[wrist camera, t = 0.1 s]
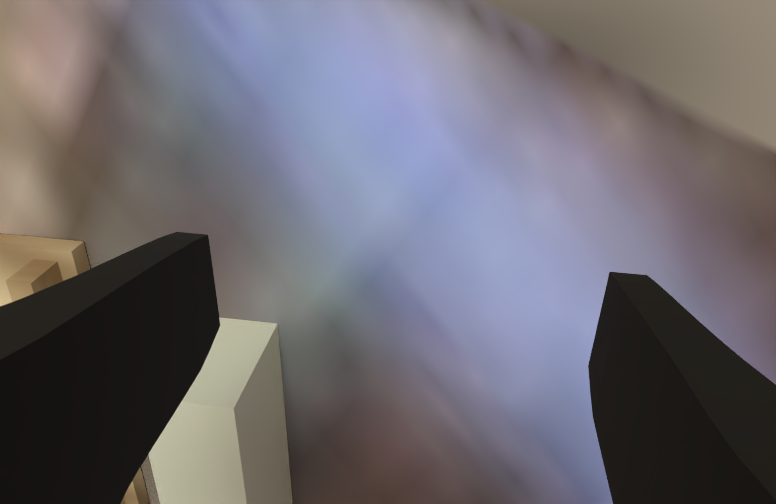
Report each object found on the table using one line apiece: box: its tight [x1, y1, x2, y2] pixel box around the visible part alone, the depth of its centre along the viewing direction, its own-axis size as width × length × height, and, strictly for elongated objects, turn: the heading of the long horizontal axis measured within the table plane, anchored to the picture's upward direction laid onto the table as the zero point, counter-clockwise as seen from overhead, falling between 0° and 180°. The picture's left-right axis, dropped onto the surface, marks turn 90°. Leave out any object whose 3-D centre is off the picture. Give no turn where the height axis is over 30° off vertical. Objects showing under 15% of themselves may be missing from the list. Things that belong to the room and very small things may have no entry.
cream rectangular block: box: [149, 318, 293, 504], centre depth 26 cm, size 12×4×5 cm, turn 179°
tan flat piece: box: [0, 234, 149, 504], centre depth 28 cm, size 15×8×2 cm, turn 179°
